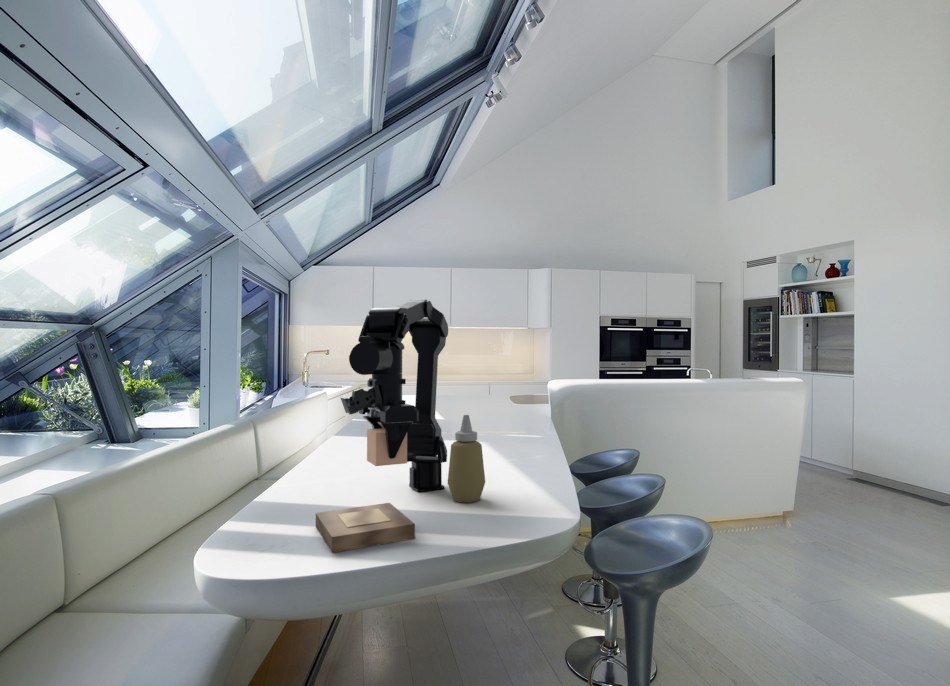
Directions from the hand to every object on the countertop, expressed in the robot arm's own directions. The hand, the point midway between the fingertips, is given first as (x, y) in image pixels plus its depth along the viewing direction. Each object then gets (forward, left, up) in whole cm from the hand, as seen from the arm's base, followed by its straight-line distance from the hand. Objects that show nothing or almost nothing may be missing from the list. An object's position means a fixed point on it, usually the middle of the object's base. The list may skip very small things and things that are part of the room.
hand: (386, 455), depth 104 cm
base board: (+6, +5, -12) cm, 14 cm away
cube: (0, 0, -1) cm, 1 cm away
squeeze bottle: (-19, -5, -12) cm, 23 cm away
